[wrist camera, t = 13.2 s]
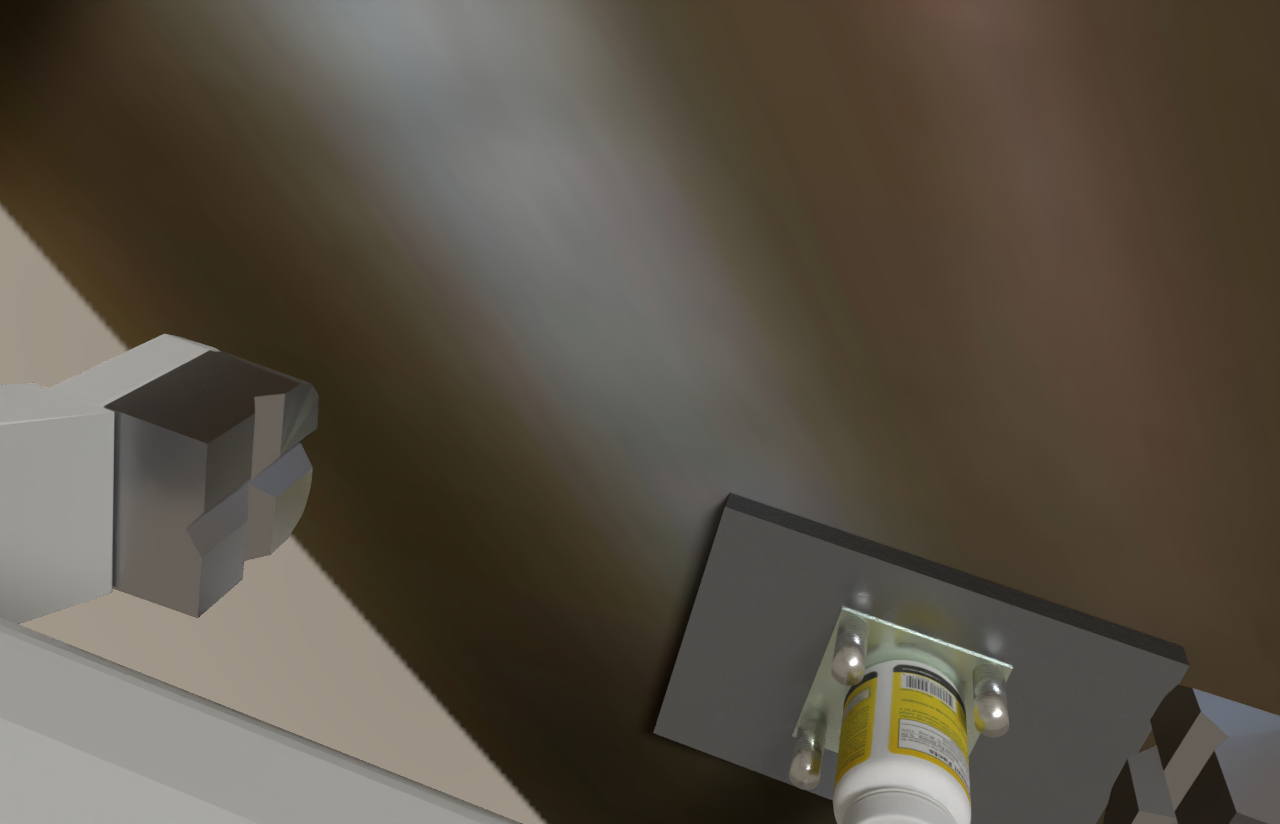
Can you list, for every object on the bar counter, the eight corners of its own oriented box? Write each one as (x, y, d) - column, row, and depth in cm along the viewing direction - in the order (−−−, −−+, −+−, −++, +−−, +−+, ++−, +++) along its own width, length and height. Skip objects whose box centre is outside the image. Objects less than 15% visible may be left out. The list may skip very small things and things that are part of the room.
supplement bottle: (864, 759, 44) (848, 922, 37) (829, 666, 43) (806, 815, 35) (980, 744, 42) (989, 912, 35) (949, 646, 41) (951, 799, 33)
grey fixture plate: (659, 715, 48) (635, 779, 44) (730, 492, 42) (709, 544, 39) (1056, 863, 45) (1066, 945, 41) (1183, 647, 40) (1208, 717, 36)
